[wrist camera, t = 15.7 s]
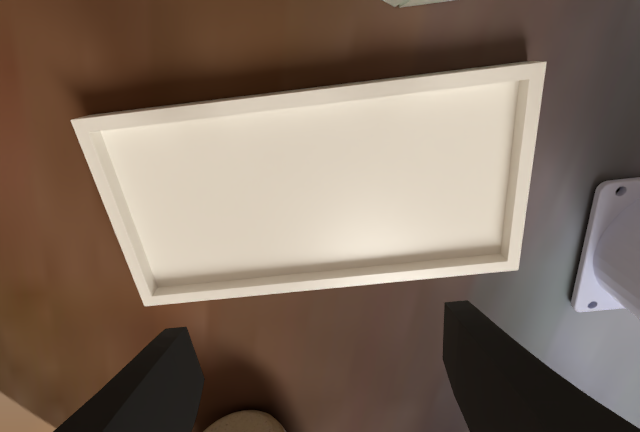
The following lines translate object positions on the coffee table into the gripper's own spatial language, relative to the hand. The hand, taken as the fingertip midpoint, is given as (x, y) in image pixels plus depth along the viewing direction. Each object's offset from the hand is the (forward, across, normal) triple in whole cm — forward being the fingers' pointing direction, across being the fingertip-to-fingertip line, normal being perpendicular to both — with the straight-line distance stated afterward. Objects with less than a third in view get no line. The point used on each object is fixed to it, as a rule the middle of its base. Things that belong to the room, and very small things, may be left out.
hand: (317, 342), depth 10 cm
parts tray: (+9, 0, -1) cm, 9 cm away
